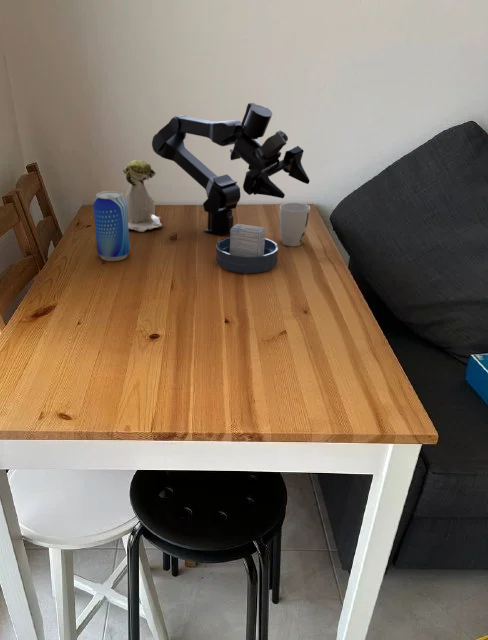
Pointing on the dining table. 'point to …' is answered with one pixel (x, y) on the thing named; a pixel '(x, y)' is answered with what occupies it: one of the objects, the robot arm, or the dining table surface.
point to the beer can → (111, 225)
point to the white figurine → (140, 197)
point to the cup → (293, 222)
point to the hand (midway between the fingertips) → (296, 189)
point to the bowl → (246, 258)
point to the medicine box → (247, 240)
